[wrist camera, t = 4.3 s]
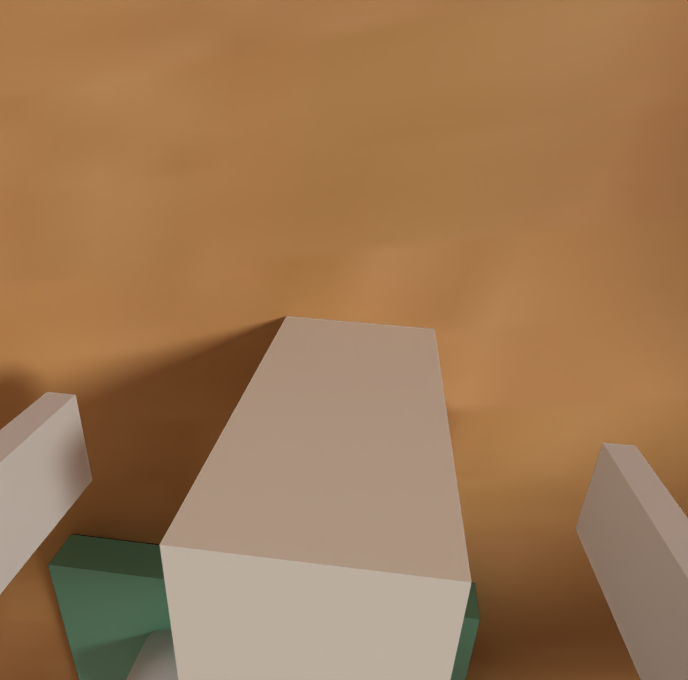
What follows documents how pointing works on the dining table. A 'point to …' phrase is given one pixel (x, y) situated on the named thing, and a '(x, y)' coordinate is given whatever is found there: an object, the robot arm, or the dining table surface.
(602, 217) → the dining table surface
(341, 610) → the plug
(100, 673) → the board
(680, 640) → the robot arm
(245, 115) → the dining table surface
